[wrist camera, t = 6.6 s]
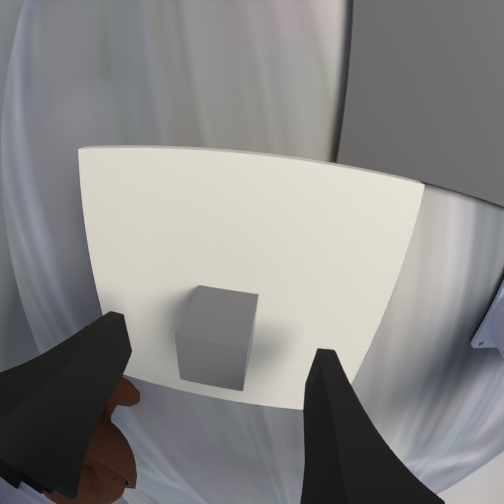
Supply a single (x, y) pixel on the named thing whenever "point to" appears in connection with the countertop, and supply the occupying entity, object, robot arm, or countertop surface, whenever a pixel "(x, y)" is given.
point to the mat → (427, 93)
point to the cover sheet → (242, 263)
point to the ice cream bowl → (106, 456)
